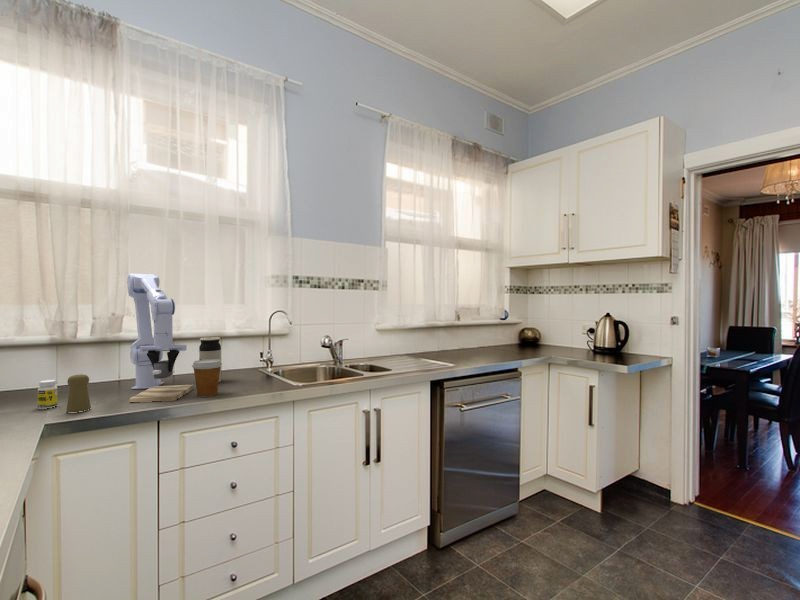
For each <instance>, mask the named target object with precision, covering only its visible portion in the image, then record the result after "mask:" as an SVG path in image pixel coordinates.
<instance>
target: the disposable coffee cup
mask: <svg viewBox="0 0 800 600" xmlns="http://www.w3.org/2000/svg"><path fill="white" fill-rule="evenodd" d="M222 363H223V362H222V360H221V361H220V360H218V359H206V360H199V359H198V360H194V361H193V364H192V365H191V367H192V369H193V371H194V374H193V375H194V380H195V388H196V394H197V397H199V396H208V397H213V395H214V396H216V395H218V389H219V383H220V382H219V375H220V367H221V368H222V365H223V364H222Z"/></svg>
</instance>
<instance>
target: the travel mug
mask: <svg viewBox="0 0 800 600" xmlns="http://www.w3.org/2000/svg"><path fill="white" fill-rule="evenodd" d="M220 340H221V337H217V336H214V337H213V336H212V337H211V336H210V337H200V338H199V341H200V345H199V348H198V352H199V357H198V358H199V359H198V360H206V359H218V360H220V361H221V362H222V345H221V343H220ZM221 381H222V366H221V367H220V375H219V383H220V382H221Z"/></svg>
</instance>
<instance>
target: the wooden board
mask: <svg viewBox="0 0 800 600" xmlns="http://www.w3.org/2000/svg"><path fill="white" fill-rule="evenodd" d="M194 386H195V385H194V384H180V385H179V384H178V385H176V384H175V385H159V386H153V387H151V388H146V390H143V391H141V392H140V393H138V394H135V395H134V396H131V397H130V398H129V403H130V402H140V403H153V402H152V401H162V402H175V401H174V400H176V401H177V399H178V398H179V399H181V398H183V395H184V396H185V395H186V393H187V394H188V393H190V392H191V391H193V390H194ZM180 397H181V398H180ZM179 399H178V400H179Z"/></svg>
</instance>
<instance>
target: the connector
mask: <svg viewBox="0 0 800 600" xmlns="http://www.w3.org/2000/svg"><path fill="white" fill-rule="evenodd" d="M152 374H154V379H161V380H163V379H167V378H168V377H171V376H173V374H174V370H173V371H171V372H169V371H168V359H165V360H161V361H159V362H157V363H154V371H152Z"/></svg>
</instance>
